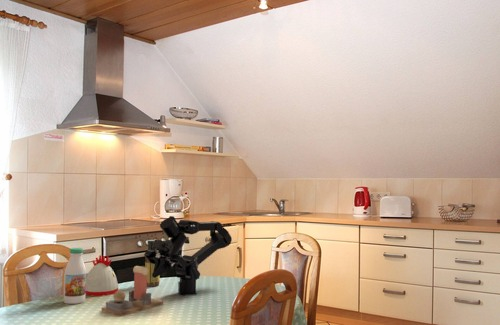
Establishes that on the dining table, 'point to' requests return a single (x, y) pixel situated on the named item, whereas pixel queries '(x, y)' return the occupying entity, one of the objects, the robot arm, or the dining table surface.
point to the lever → (140, 282)
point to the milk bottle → (75, 278)
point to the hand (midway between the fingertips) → (153, 277)
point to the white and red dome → (101, 278)
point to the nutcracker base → (135, 309)
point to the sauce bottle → (151, 267)
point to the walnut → (119, 296)
